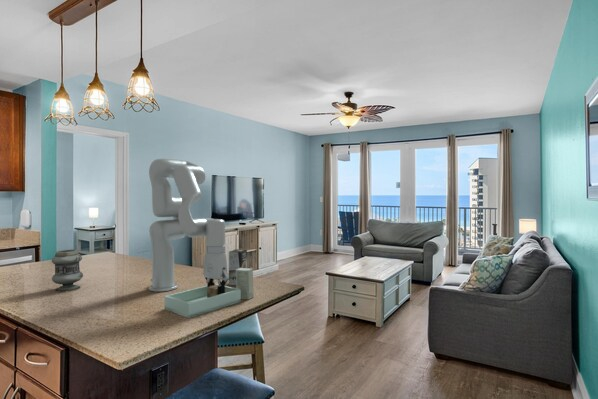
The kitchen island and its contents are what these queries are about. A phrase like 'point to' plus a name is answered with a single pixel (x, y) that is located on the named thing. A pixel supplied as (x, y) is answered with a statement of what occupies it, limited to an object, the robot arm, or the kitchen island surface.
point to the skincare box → (245, 282)
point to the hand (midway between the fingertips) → (216, 293)
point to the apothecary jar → (67, 269)
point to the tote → (200, 301)
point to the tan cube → (212, 291)
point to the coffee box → (236, 263)
